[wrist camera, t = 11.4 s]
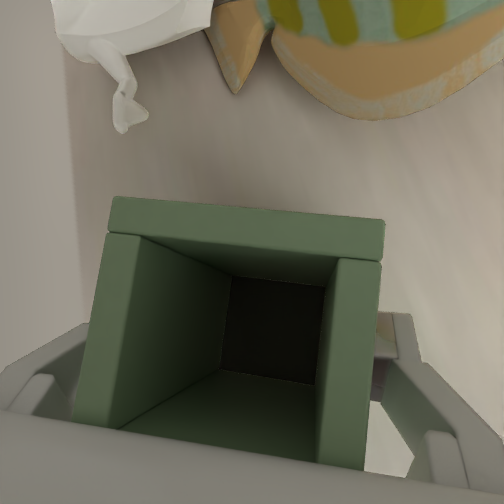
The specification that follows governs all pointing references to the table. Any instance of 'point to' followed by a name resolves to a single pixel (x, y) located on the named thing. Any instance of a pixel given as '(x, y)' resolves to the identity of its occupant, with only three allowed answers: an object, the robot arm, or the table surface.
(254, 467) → the robot arm
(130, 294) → the square planter
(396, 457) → the table surface
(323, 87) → the decorative fish sculpture
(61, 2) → the figurine
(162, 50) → the table surface
